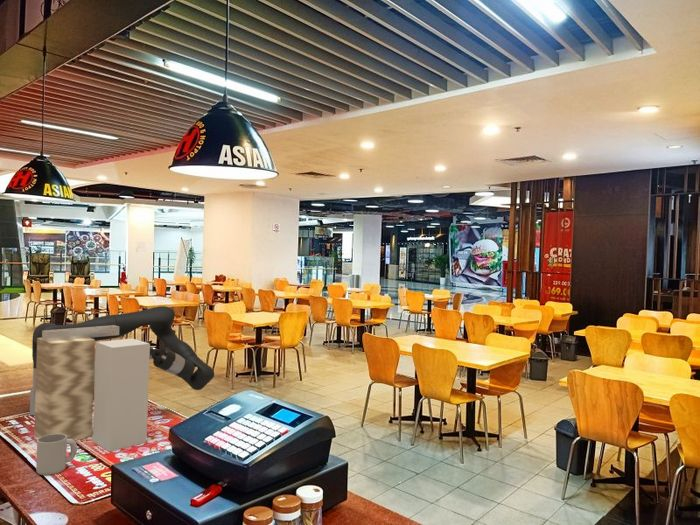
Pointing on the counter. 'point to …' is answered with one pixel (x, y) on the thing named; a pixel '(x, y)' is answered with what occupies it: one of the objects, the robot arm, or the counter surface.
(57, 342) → the walnut stand
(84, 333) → the wooden block
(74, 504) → the counter surface
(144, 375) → the block
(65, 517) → the counter surface
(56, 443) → the cup
